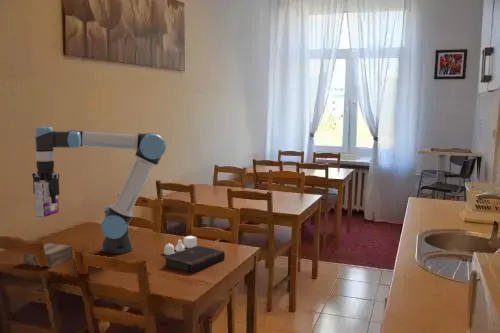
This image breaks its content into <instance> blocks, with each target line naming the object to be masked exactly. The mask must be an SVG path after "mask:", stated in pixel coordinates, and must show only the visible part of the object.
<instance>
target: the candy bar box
mask: <svg viewBox="0 0 500 333" xmlns="http://www.w3.org/2000/svg"><path fill="white" fill-rule="evenodd" d="M49 181H50V180H49ZM34 190H35V194H34V206H35V208H34V209H35V217H38V218H47V217H49V216H52V215H54V214H57V213H59V195H57V196H56V203H55V210H52V211H50V208H49V197H50V192H49V182H48V181H46V180H41V181H36V182H34Z"/></svg>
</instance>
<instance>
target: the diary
mask: <svg viewBox="0 0 500 333" xmlns="http://www.w3.org/2000/svg"><path fill="white" fill-rule="evenodd" d="M225 253H226V252H225V251H223V250H219V249H216V248H211V247H207V246H202V245H197V246H194V247H192V248H187V249H186V248H185V250H183V251H176V252H174V253H173V254H170V255H165V256H162V259H165V264H164V265H162V268H167V269H172V270H175V271H183V272H188V273H191V274H195V273H196V272H199V271H201V270H203V269H205V268H208V267H210V266H213V265H214V264H216V263H218V262H221V260H222V261H224V260H225V257H226V254H225ZM223 259H224V260H223Z"/></svg>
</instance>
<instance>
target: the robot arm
mask: <svg viewBox="0 0 500 333" xmlns="http://www.w3.org/2000/svg"><path fill="white" fill-rule="evenodd" d="M34 134H35V136H34V138H35V159H36V162H35V163H36V164H35V165H36V169H37V171H36V172H32V174H31V176H32V180H33V181H32V183H33V186H32V187H33V188H32V190H33V191H32V192H33V194H34V195H35V190H34V182H36V181H41V180H46V181H48V182H49V192H50V197H49V208H50V211H52V210H55V203H56V196H57V195H58V196H60V174H59V173H55V171H54V168H55V161H54V159H55V158H54V157H55V155H54V154H55V153H54V151H55V150H54V148H55V149H56V148H57V149H58V148H62V149H63V148H71V149H74V148H75V149H76V148H80V147H87V148H101V149H113V150H115V149H116V150H126V151H127V150H129V151H134V152H135V154H134V156H135V158H136V159H135V161H134V163H133V166H132V168H131V169H130V172H129V174H128V176H127V178H126V180H125V182H124V184H123V186H122V187H121V190H120V192H119V194H118V196H117V199H116V200H115V203H113V204H111V205H109V206H105V207H104V218H103V220H102V221H101V223H100V227H101V233H102V234H103V235H104V239H103V242H102V246H101V251H102V252H103V253H105V254H110V255H116V254H117V255H119V254H125V253H126V254H127V253H129V252H131V251H132V250H133V242H132V239H131V237H130V229H129V226H130V225H129V224H130V222H131V220H132V218H133V216H134V215H133V208H134V207H135V205H136V202H137V200H138V198H139V196H140V194H141V193H142V190H143V188H144V186H145V184H146V182H147V180H148V178H149V176H150V174H151V172H152V170H153V168H154V167H156V166H158V164H159V163H160V160H161V158H162V156H163V155H165V152H166V148H167V143H166V140H165V138H163V136H162V135H161V134H160V133H158V132H149V133H147V132H146V133H136V134H123V133H110V132H98V131H95V132H94V131H86V130H85V131H84V130H75V129H70V130H66V131H63V130H62V131H54V129H53V127H51V126H38V127H36V128H35V133H34ZM49 180H50V181H49Z"/></svg>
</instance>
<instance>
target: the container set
mask: <svg viewBox="0 0 500 333" xmlns="http://www.w3.org/2000/svg"><path fill="white" fill-rule="evenodd" d="M197 240H198V238H197V236H193V235H187V236H184V237H183V240H182V239H178V241H177V244H176V245H175V247H174V245H173V244H172V243H170V242H168V243H167V244H165V246H164V248H163V249H164V251H163V254H164V255H165V256H167V255H170V254H173V253H175V252H181V251H183V250H186V248H187V249H189V248H192V247H194V246H198V241H197ZM175 250H176V251H175Z"/></svg>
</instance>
